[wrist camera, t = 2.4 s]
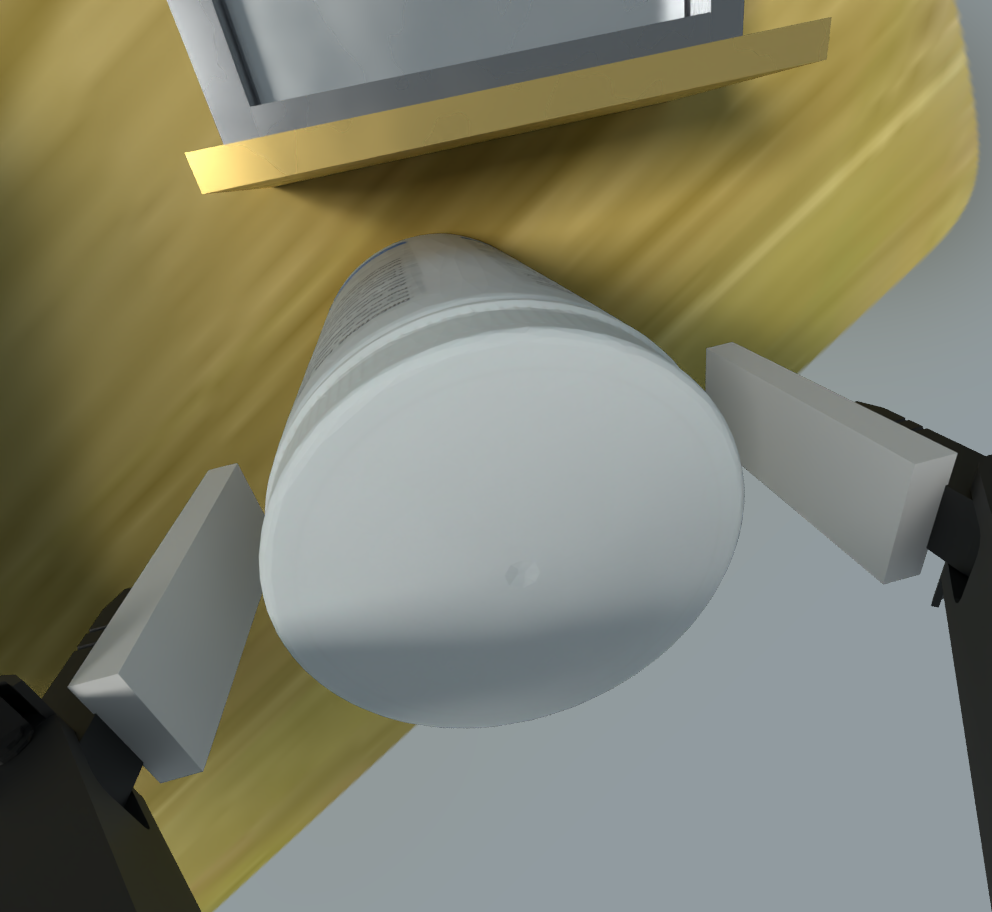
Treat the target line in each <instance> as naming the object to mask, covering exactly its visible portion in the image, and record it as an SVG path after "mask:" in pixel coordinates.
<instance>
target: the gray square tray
mask: <svg viewBox="0 0 992 912" xmlns="http://www.w3.org/2000/svg"><path fill="white" fill-rule="evenodd" d="M167 2H168V4H169V7H170V9H171V12H172V15H173V17H174V20H175V22H176V25H177V27H178V30H179V32H180V35H181V37H182V40H183V42H184V45H185V48H186V50H187V53H188V55H189V58H190V60H191V63H192V65H193V68H194V70H195V73H196V76H197V78H198V81H199V83H200V86H201V88H202V91H203V93H204V96H205V98H206V101H207V103H208V106H209V109H210V111H211V114H212V116H213V119H214V121H215V124H216V126H217V129H218V131H219V134H220V137H221V139H222V142H223V144H224V145H221V146H216V147H211V148H206V149H202V150H197V151H192V152H187V153H185V155H186V157H187V159H188V162H189V164H190V166H191V169H192V171H193V173H194V176H195V178H196V180H197V183H198V185H199V187H200V190H201V192H202V194H209V193H219V192H229V191H239V190H249V189H259V188H270V187H276V186H281V185H285V184H290V183H294V182H299V181H304V180H308V179H313V178H317V177H322V176H327V175H331V174H336V173H341V172H345V171H350V170H354V169H359V168H364V167H368V166H373V165H377V164H382V163H387V162H391V161H396V160H400V159H405V158H410V157H414V156H419V155H423V154H428V153H433V152H437V151H442V150H446V149H451V148H456V147H460V146H465V145H470V144H474V143H479V142H483V141H488V140H493V139H497V138H502V137H506V136H511V135H516V134H520V133H525V132H529V131H534V130H539V129H543V128H548V127H552V126H557V125H562V124H566V123H571V122H576V121H580V120H585V119H589V118H594V117H599V116H603V115H608V114H612V113H617V112H622V111H626V110H631V109H635V108H640V107H645V106H649V105H654V104H658V103H663V102H668V101H672V100H676V99H679V98H683V97H687V96H691V95H694V94H698V93H702V92H706V91H709V90H713V89H717V88H721V87H725V86H728V85H732V84H736V83H740V82H743V81H747V80H751V79H755V78H758V77H762V76H766V75H770V74H773V73H777V72H781V71H785V70H789V69H792V68H796V67H800V66H804V65H807V64H811V63H815V62H819V61H822V60H826V59H827V51H828V42H829V34H830V25H831V17H829V18H825V19H820V20H815V21H810V22H805V23H801V24H796V25H791V26H786V27H782V28H777V29H772V30H767V31H763V32H758V33H753V34H748V35H744V36H743V16H744V0H167Z"/></svg>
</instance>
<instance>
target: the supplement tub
mask: <svg viewBox="0 0 992 912" xmlns="http://www.w3.org/2000/svg"><path fill="white" fill-rule="evenodd" d="M743 509H744V480H743V472H742V465H741V461H740V457H739V453H738V449H737V446H736V443H735V440H734V437H733V435H732V433H731V431H730V429H729V426H728V424H727V422H726V420H725V418H724V417H723V415H722V414H721V412H720V411H719V409H718V408H717V406H716V405H715V403H714V402H713V401H712V399H711V398H710V397H709V396H708V394H707V393H706V392H705V391H704V390H703V389H702V388H701V387H700V386H699V385H698V384H697V383H696V382H695V381H694V380H693V379H692V378H691V377H690V376H689V375H688V374H686V373H685V372H684V371H682V370H681V369H680V368H679V367H678V366H677V364H676V363H675V362H674V361H673V360H672V359H671V358H670V357H669V356H668V355H667V354H666V353H665V352H664V351H663V350H662V349H661V348H659V347H658V346H657V345H656V344H655V343H653V342H652V341H651V340H650V339H648V338H647V337H646V336H645V335H643V334H641V333H640V332H638V331H637V330H635V329H634V328H632V327H630V326H628V325H627V324H625V323H623V322H622V321H620V320H618V319H617V318H615V317H613V316H612V315H610V314H608V313H607V312H605V311H603V310H602V309H600V308H598V307H597V306H595V305H593V304H592V303H590V302H588V301H586V300H585V299H583V298H581V297H580V296H578V295H576V294H574V293H573V292H571V291H569V290H568V289H566V288H564V287H562V286H561V285H559V284H557V283H556V282H554V281H552V280H550V279H549V278H547V277H545V276H543V275H542V274H540V273H538V272H536V271H535V270H533V269H531V268H530V267H528V266H526V265H524V264H523V263H521V262H519V261H518V260H516V259H514V258H512V257H511V256H509V255H507V254H505V253H504V252H502V251H500V250H498V249H496V248H494V247H492V246H490V245H488V244H486V243H484V242H481V241H479V240H476V239H472V238H469V237H465V236H460V235H453V234H443V233H439V234H426V235H419V236H415V237H411V238H407V239H404V240H401V241H399V242H396V243H393V244H391V245H389V246H387V247H385V248H383V249H382V250H380V251H379V252H377V253H375V254H374V255H372V256H371V257H369V258H368V259H367V260H366V261H364V262H363V263H362V264H361V265H360V266H359V267H358V268H356V269H355V270H354V272H353V273H352V274H351V275H350V276H349V277H348V278H347V280H346V281H345V283H344V284H343V286H342V287H341V289H340V291H339V292H338V294H337V296H336V297H335V299H334V302H333V304H332V306H331V308H330V310H329V313H328V316H327V318H326V321H325V323H324V326H323V329H322V331H321V334H320V337H319V339H318V342H317V345H316V347H315V350H314V352H313V355H312V357H311V360H310V363H309V365H308V368H307V370H306V373H305V376H304V379H303V381H302V384H301V386H300V389H299V391H298V394H297V397H296V399H295V402H294V405H293V407H292V410H291V412H290V415H289V417H288V420H287V423H286V426H285V429H284V432H283V435H282V438H281V440H280V443H279V446H278V450H277V453H276V456H275V459H274V463H273V467H272V470H271V473H270V477H269V481H268V487H267V493H266V504H265V517H264V521H263V526H262V530H261V540H260V549H259V571H260V582H261V587H262V592H263V597H264V601H265V604H266V608H267V611H268V614H269V616H270V619H271V621H272V623H273V625H274V627H275V630H276V632H277V634H278V636H279V637H280V639H281V640H282V642H283V644H284V645H285V647H286V648H287V649H288V651H289V652H290V653H291V655H292V656H293V658H294V659H295V660H296V661H297V662H298V663H299V664H300V665H301V666H302V668H303V669H304V670H305V671H306V672H307V673H309V674H310V675H311V676H312V677H313V678H314V679H316V680H317V681H318V682H319V683H320V684H322V685H323V686H324V687H326V688H327V689H329V690H330V691H332V692H333V693H335V694H336V695H338V696H339V697H341V698H343V699H345V700H347V701H348V702H350V703H352V704H354V705H356V706H359V707H361V708H363V709H366V710H368V711H371V712H373V713H376V714H378V715H381V716H384V717H387V718H391V719H394V720H398V721H402V722H406V723H412V724H418V725H424V726H432V727H440V728H482V727H495V726H501V725H507V724H513V723H519V722H524V721H530V720H534V719H537V718H541V717H544V716H548V715H551V714H554V713H557V712H560V711H563V710H566V709H569V708H572V707H574V706H577V705H579V704H582V703H584V702H586V701H588V700H590V699H592V698H595V697H597V696H599V695H601V694H603V693H605V692H607V691H609V690H611V689H613V688H614V687H616V686H618V685H619V684H621V683H623V682H624V681H626V680H628V679H629V678H631V677H632V676H634V675H636V674H637V673H638V672H640V671H641V670H642V669H644V668H645V667H646V666H648V665H649V664H650V663H652V662H653V661H654V660H655V659H657V658H658V657H659V656H661V655H662V654H663V653H664V652H665V651H666V650H668V649H669V648H670V647H671V646H672V645H673V644H674V643H675V642H676V641H677V640H678V639H679V638H680V637H681V636H682V635H683V634H684V633H685V632H686V631H687V630H688V629H689V628H690V626H691V625H692V624H693V623H694V621H695V620H696V619H697V617H698V616H699V615H700V613H701V612H702V611H703V610H704V609H705V607H706V606H707V604H708V603H709V601H710V600H711V598H712V597H713V595H714V593H715V592H716V590H717V588H718V586H719V585H720V583H721V581H722V579H723V577H724V575H725V573H726V571H727V569H728V566H729V564H730V561H731V559H732V556H733V553H734V550H735V547H736V544H737V541H738V538H739V534H740V529H741V524H742V518H743Z"/></svg>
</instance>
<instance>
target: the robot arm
mask: <svg viewBox="0 0 992 912" xmlns="http://www.w3.org/2000/svg"><path fill="white" fill-rule="evenodd" d="M706 393H707V394H708V396H709V397H710V398H711V399H712V401H713V402H714V403H715V405H716V406H717V408H718V409H719V411H720V412H721V414H722V415H723V417H724V418H725V420H726V422H727V424H728V426H729V429H730V431H731V433H732V435H733V437H734V440H735V443H736V446H737V449H738V453H739V457H740V461H741V465H742V466H743V467H744V468H746V469H747V470H748V471H749V472H750V473H751V474H753V475H754V476H755V477H756V478H757V479H758V480H760V481H761V482H762V483H763V484H764V485H766V486H767V487H768V488H769V489H770V490H772V491H773V492H774V493H775V494H776V495H777V496H779V497H780V498H781V499H782V500H784V501H785V502H786V503H787V504H788V505H789V506H791V507H792V508H793V509H794V510H795V511H797V512H798V513H799V514H800V515H801V516H802V517H804V518H805V519H806V520H807V521H808V522H810V523H811V524H812V525H813V526H814V527H816V528H817V529H818V530H819V531H820V532H822V533H823V534H824V535H825V536H826V537H827V538H829V539H830V540H831V541H832V542H833V543H835V544H836V545H837V546H838V547H839V548H841V549H842V550H843V551H844V552H845V553H847V554H848V555H849V556H850V557H851V558H852V559H854V560H855V561H856V562H857V563H858V564H860V565H861V566H862V567H863V568H864V569H866V570H867V571H868V572H869V573H871V574H872V575H873V576H874V577H875V578H876V579H877V580H879V581H880V582H881V583H882V584H887V583H890V582H893V581H897V580H901V579H905V578H908V577H912V576H916V575H919V574H920V573H921V569H922V567H923V563H924V560H925V557H926V554H927V550H930V551H931V552H933V553H934V554H935V555H937V556H938V557H940V558H941V559H943V560H944V561H945V565H944V567H943V570H942V573H941V576H940V579H939V582H938V585H937V588H936V591H935V594H934V597H933V601H932V604H931V606H934V607H939V605H940V602H941V600H942V599H944V601H945V608H946V614H947V621H948V627H949V634H950V640H951V647H952V653H953V660H954V667H955V673H956V680H957V686H958V693H959V699H960V705H961V712H962V718H963V725H964V731H965V738H966V745H967V752H968V758H969V765H970V771H971V778H972V785H973V791H974V798H975V804H976V811H977V817H978V823H979V830H980V837H981V843H982V850H983V856H984V863H985V870H986V876H987V883H988V889H989V896H990V902H991V909H992V455H988V456H984V455H982V454H980V453H978V452H976V451H974V450H972V449H969V448H967V447H965V446H963V445H961V444H959V443H957V442H955V441H952V440H950V439H948V438H946V437H944V436H942V435H940V434H938V433H936V432H934V431H931V430H929V429H923V426H921V425H919V424H917V423H915V422H912V421H910V420H907V421H906V420H905V418H904V417H902V416H900V415H898V414H896V413H894V412H891V411H889V410H887V409H885V408H882V407H878V406H874V405H870V404H866V403H862V402H858V401H856V402H853V401H851V400H849V399H847V398H845V397H843V396H841V395H839V394H837V393H835V392H833V391H831V390H829V389H827V388H825V387H822V386H821V385H818V384H816V383H815V382H812V381H811V380H808V379H806V378H804V377H802V376H800V375H798V374H796V373H794V372H792V371H790V370H788V369H786V368H784V367H782V366H780V365H778V364H776V363H774V362H772V361H770V360H768V359H766V358H764V357H762V356H760V355H758V354H756V353H754V352H752V351H750V350H748V349H746V348H744V347H742V346H740V345H737V344H735V343H733V342H730V343H726V344H722V345H718V346H714V347H710V348H706ZM264 517H265V515H264V513H263V511H262V509H261V507H260V506H259V504H258V502H257V500H256V498H255V496H254V494H253V492H252V490H251V488H250V486H249V484H248V483H247V481H246V479H245V477H244V475H243V473H242V471H241V469H240V467H239V465H238V463H236V464H232V465H228V466H224V467H219V468H215V469H211V470H208V472H207V473H206V475H205V476H204V478H203V479H202V481H201V483H200V484H199V486H198V487H197V489H196V490H195V492H194V493H193V495H192V496H191V498H190V499H189V501H188V503H187V504H186V506H185V507H184V509H183V510H182V512H181V513H180V515H179V516H178V518H177V519H176V521H175V522H174V524H173V526H172V527H171V529H170V530H169V532H168V533H167V535H166V536H165V538H164V539H163V541H162V542H161V544H160V545H159V547H158V549H157V550H156V552H155V553H154V555H153V556H152V558H151V559H150V561H149V562H148V564H147V565H146V567H145V569H144V570H143V572H142V573H141V575H140V576H139V578H138V579H137V581H136V582H135V584H134V585H133V587H132V588H128V589H125V590H123V591H122V592H121V593H120V594H119V595H118V596H117V597H116V598H115V599H114V600H113V601H112V602H110V603H109V604H108V605H107V606H106V607H105V608H104V609H103V610H102V612H101V613H100V615H99V616H98V617H97V619H96V620H95V622H94V623H93V625H92V626H91V628H90V629H89V631H90V633H88V634H86V635H85V636H84V638H83V639H82V641H81V642H80V644H79V645H78V651H74V652H73V654H72V655H71V657H70V658H69V660H68V661H67V663H66V664H65V666H64V667H63V669H62V670H61V671H60V673H59V674H58V676H57V677H56V679H55V680H54V682H53V683H52V685H51V686H50V687H49V689H48V690H47V692H46V693H45V695H44V696H43V698H42V699H41V698H40V697H39V696H38V695H37V694H36V693H35V692H34V691H33V690H32V689H31V688H30V687H29V686H28V685H27V684H26V683H25V682H24V681H23V680H21V679H20V678H19V677H18V676H16V675H1V676H0V912H201V910H200V908H199V906H198V904H197V902H196V900H195V898H194V896H193V894H192V893H191V891H190V889H189V887H188V885H187V883H186V881H185V879H184V877H183V875H182V873H181V871H180V869H179V867H178V865H177V863H176V861H175V859H174V857H173V855H172V853H171V851H170V849H169V847H168V845H167V843H166V842H165V840H164V838H163V836H162V834H161V832H160V830H159V828H158V826H157V824H156V822H155V820H154V818H153V816H152V814H151V812H150V810H149V808H148V806H147V804H146V802H145V800H144V798H143V797H142V796H141V795H140V794H139V793H138V792H137V791H136V790H135V789H134V788H133V786H134V784H135V782H136V779H137V777H138V775H139V773H140V770H141V768H142V766H144V767H145V768H146V769H147V770H148V771H149V772H150V773H151V774H152V775H153V776H154V777H155V778H156V779H157V780H158V781H159V782H160V783H163V782H167V781H170V780H174V779H177V778H181V777H185V776H188V775H192V774H196V773H199V772H203V770H204V767H205V764H206V761H207V758H208V755H209V752H210V749H211V746H212V743H213V740H214V737H215V734H216V731H217V728H218V725H219V722H220V719H221V716H222V713H223V710H224V707H225V704H226V701H227V698H228V695H229V692H230V689H231V686H232V683H233V680H234V676H235V673H236V670H237V667H238V664H239V661H240V658H241V655H242V652H243V649H244V646H245V643H246V640H247V637H248V634H249V631H250V628H251V625H252V622H253V619H254V616H255V613H256V610H257V607H258V604H259V601H260V598H261V595H262V587H261V582H260V571H259V549H260V540H261V530H262V526H263V521H264Z"/></svg>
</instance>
